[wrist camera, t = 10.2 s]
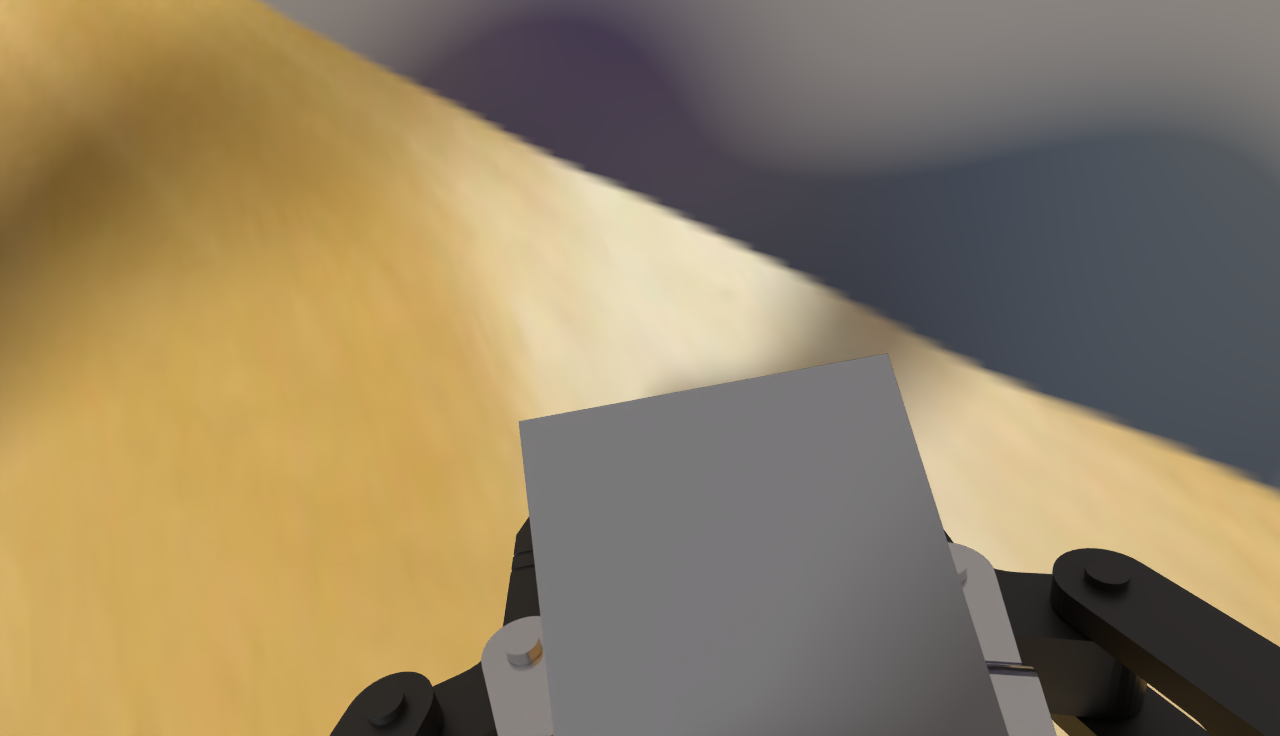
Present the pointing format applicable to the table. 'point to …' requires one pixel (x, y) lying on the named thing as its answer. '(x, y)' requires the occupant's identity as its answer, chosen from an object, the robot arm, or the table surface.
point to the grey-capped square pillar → (750, 565)
